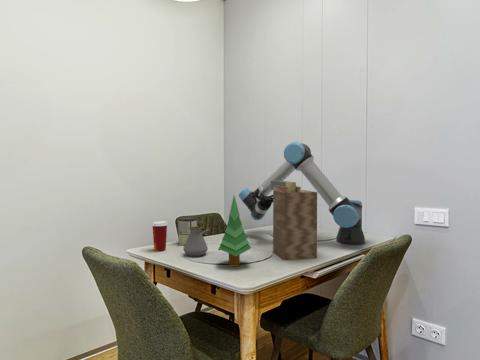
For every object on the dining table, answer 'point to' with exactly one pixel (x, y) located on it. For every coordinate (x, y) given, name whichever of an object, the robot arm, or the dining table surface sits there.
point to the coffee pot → (197, 241)
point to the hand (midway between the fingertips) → (274, 187)
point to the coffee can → (185, 228)
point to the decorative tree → (234, 237)
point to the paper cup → (159, 235)
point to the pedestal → (294, 223)
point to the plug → (290, 185)
